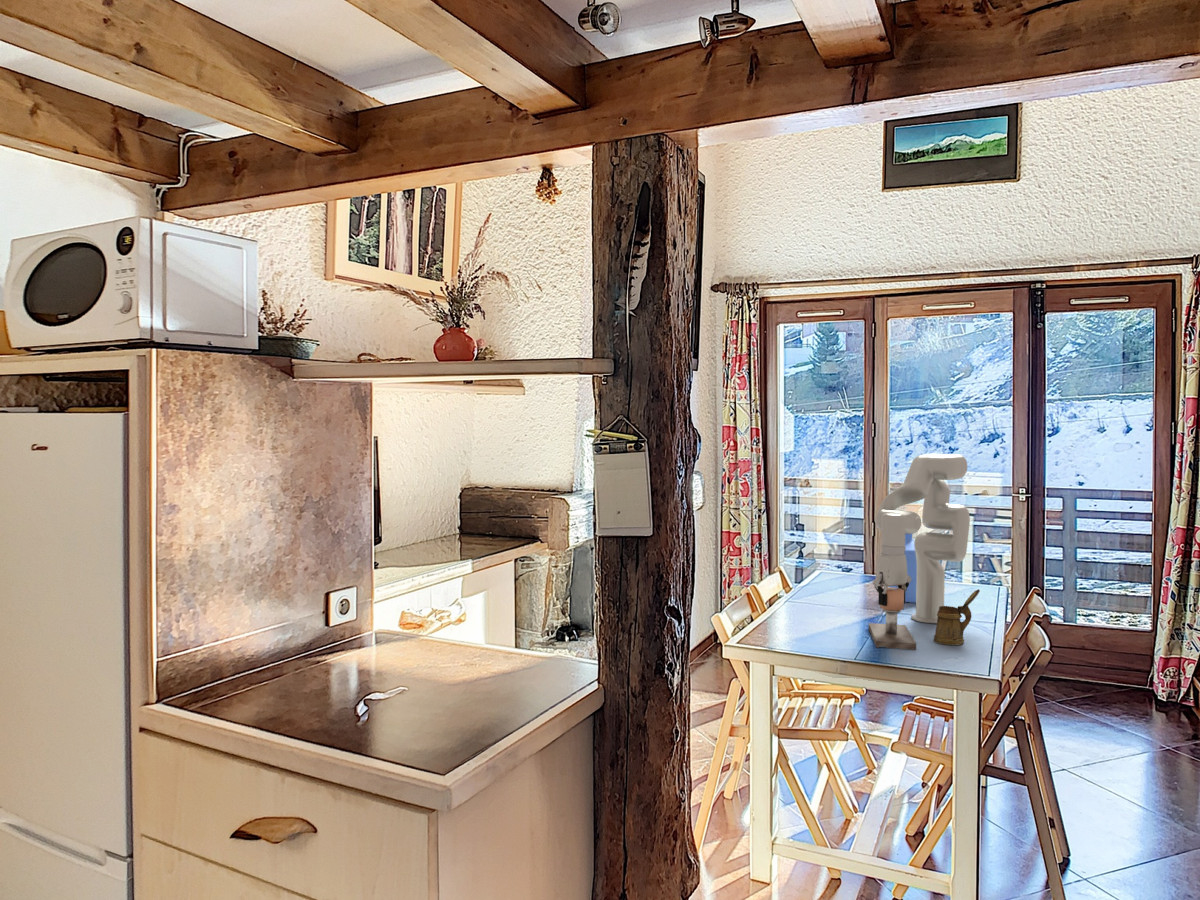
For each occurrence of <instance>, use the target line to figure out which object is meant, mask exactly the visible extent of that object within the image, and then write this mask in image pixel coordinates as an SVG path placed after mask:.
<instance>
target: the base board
mask: <svg viewBox="0 0 1200 900" xmlns="http://www.w3.org/2000/svg"><path fill="white" fill-rule="evenodd" d="M868 631H869V633H871V634H870V636H871V638H873V639H872V641H873V640H874V641H873V643H874V646H875V645H876V646H875V647H876V648H879V647H886V648H885V649H896V648H899V650H913V651H914V650H917V642H916V641H915V639H914V637H913V635H912V634H911V632H910V631H909V629H908V627H907V625H905V624H897V634H888V633H886V623H876V622H875V623H872V622H868Z"/></svg>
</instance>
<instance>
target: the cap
mask: <svg viewBox="0 0 1200 900" xmlns="http://www.w3.org/2000/svg"><path fill="white" fill-rule="evenodd" d="M885 594H887V606H882V605H879V608H880V609H882V610H883V609H886V610H901V611H903V610H905V609H904V607H905V604H904V590H903V589H899V588H890V587H888V589H887V591H886V593H885Z"/></svg>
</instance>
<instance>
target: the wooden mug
mask: <svg viewBox="0 0 1200 900" xmlns="http://www.w3.org/2000/svg"><path fill="white" fill-rule="evenodd" d="M980 591H981V590H980V589H976V590H974V591H973V592H972V593H971V594H970V595H969V597H968V598H967V599H966V600H965V601H964V603H963V605H958V606H957V607H955V606H950V605H944V606H940V607H939V611H938V613H937V616H938V619H937V623H936V626H935V633H934V635H933V642H934V643H937V644H941V645H946V646H961V645H963V644H964V642H965V638H964V631H965V630H966V629H967V626H968V625H969V624H970V622H971V620H972V611H971V609H970V608H969V605H970V604H971V603H972V602H973V601H974V600H975V599H976V598H977V596H978V595H979V593H980ZM962 615H964V617H965V619H964V620H963V621H961V618H963V616H962Z"/></svg>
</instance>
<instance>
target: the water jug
mask: <svg viewBox="0 0 1200 900" xmlns="http://www.w3.org/2000/svg"><path fill="white" fill-rule="evenodd" d="M914 541H915V540H913V534H905V548H906V549H905V555H906V561H907V574H908V575H909V576H910V577H911V581H910V583H909V586H908V587H907V591H905V603H906V602H909V603H908V604H916V578H917V563H916V554H915V547H914ZM889 587H890V588H897V585H896V586H889Z"/></svg>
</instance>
